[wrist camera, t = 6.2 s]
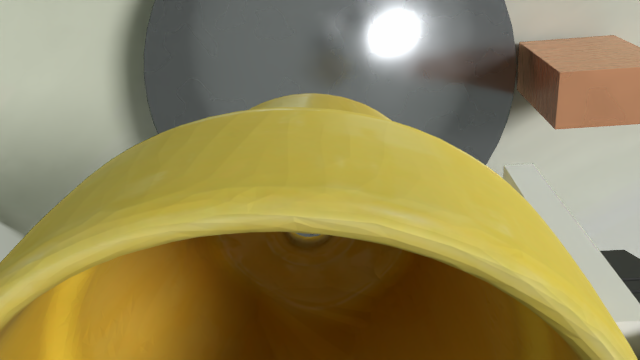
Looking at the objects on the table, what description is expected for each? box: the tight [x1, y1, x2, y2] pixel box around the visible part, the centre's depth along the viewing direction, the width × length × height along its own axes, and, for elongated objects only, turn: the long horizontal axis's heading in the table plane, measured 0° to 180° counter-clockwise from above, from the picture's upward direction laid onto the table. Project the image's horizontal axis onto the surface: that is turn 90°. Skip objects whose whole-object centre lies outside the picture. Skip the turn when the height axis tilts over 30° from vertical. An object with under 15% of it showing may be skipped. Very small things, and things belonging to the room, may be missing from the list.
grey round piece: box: [144, 0, 640, 237], centre depth 27 cm, size 18×23×6 cm
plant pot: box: [0, 93, 638, 360], centre depth 13 cm, size 10×10×10 cm
